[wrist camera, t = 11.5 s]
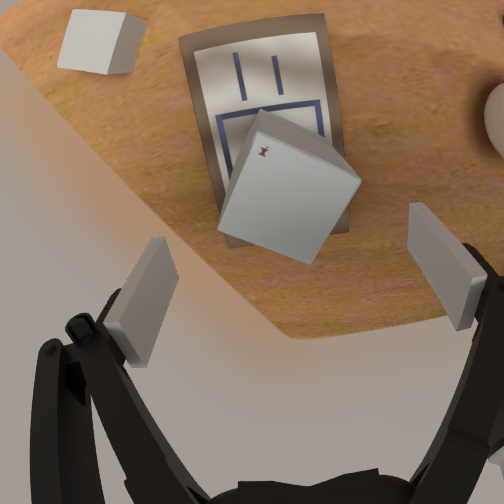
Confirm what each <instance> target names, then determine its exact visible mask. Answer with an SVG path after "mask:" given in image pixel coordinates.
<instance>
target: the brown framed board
mask: <svg viewBox="0 0 504 504" xmlns="http://www.w3.org/2000/svg"><path fill="white" fill-rule="evenodd" d="M179 42H180V47H181V51H182V56H183V60H184V65H185V69H186V74H187V78H188V83H189V87H190V91H191V96H192V100H193V105H194V109H195V113H196V118H197V122H198V126H199V130H200V135H201V139H202V143H203V147H204V151H205V156H206V160H207V164H208V168H209V172H210V176H211V180H212V184H213V188H214V192H215V196H216V200H217V204H218V209H219V212H220V215H221V211H222V207H223V203H224V200H225V196H226V193H227V189H228V185H229V182H230V178H231V174H232V170H233V168H234V165H235V163H236V160H237V158H238V155H239V153H240V150H241V148H242V146H243V143H244V141H245V139H246V137H247V134H248V132H249V130H250V128H251V126H252V124H253V121H254V119H255V117H256V115H257V113H258V111H259V109H262V110H265V111H267V112H270V113H272V114H275V115H277V116H279V117H282V118H284V119H286V120H289V121H291V122H293V123H296V124H298V125H300V126H302V127H304V128H306V129H308V130H311V131H313V132H315V133H317V134H319V135H321V136H322V137H324V138H325V139H326V140H327V141H328V142H329V143H330V144H331V145H332V146H333V148H334V149H335V150H336V151H337V152H338V153H339V154H340V155H341V156H342V157H343V159H344V160H345V153H344V142H343V132H342V123H341V115H340V107H339V99H338V92H337V85H336V78H335V71H334V65H333V59H332V53H331V48H330V42H329V37H328V32H327V26H326V22H325V17H324V13H320V14H305V15H293V16H284V17H275V18H268V19H261V20H254V21H248V22H242V23H237V24H232V25H227V26H222V27H217V28H213V29H208V30H204V31H200V32H196V33H192V34H189V35H185V36H181V37H179ZM346 232H349V211H348V205H347V207H346V209H345V210H344V212H343V213H342V215H341V217H340V218H339V220H338V221H337V223H336V225H335V226H334V228H333V229H332V231H331V233H330V234H329V235H331V234H338V233H346ZM225 236H226V240H227V244H228V248H236V247H243V246H251V245H255V244H252V243H250V242H247V241H244V240H242V239H239V238H236V237H234V236H231V235H228V234H226V233H225Z"/></svg>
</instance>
